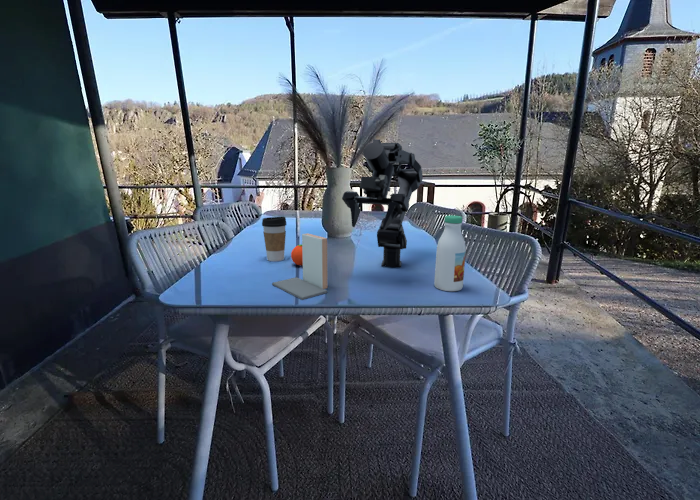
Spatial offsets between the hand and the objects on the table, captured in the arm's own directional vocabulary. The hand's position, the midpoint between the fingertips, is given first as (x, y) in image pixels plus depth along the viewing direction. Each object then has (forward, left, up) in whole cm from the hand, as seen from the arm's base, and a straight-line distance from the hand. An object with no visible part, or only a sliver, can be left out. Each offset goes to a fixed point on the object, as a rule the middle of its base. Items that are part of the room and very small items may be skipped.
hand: (368, 227), depth 101 cm
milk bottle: (0, +23, -16) cm, 28 cm away
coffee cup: (-19, -35, -16) cm, 43 cm away
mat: (+9, -18, -16) cm, 25 cm away
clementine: (-14, -24, -16) cm, 32 cm away
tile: (+4, -14, -16) cm, 22 cm away
